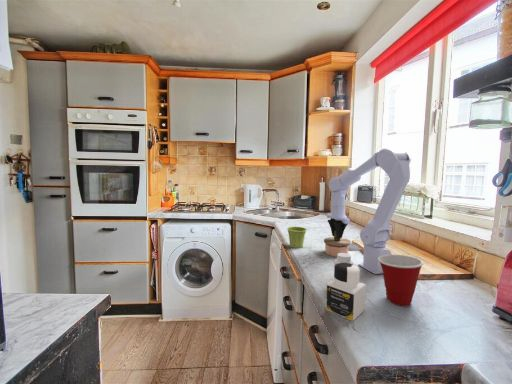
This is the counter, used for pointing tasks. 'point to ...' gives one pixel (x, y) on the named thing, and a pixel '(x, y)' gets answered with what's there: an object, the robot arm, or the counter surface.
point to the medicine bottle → (346, 292)
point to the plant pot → (296, 236)
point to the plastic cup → (400, 277)
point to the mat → (353, 247)
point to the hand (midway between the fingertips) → (337, 237)
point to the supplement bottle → (343, 258)
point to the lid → (337, 241)
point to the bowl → (335, 249)
